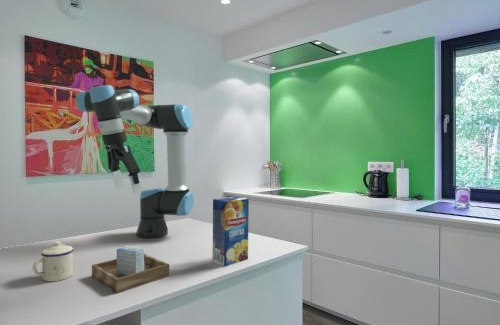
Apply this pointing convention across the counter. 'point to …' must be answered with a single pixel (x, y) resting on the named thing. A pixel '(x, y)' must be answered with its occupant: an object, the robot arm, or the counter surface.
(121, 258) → the medicine box
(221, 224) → the juice carton
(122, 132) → the robot arm
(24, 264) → the counter surface
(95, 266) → the tray
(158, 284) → the counter surface
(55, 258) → the teacup with lid
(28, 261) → the counter surface
